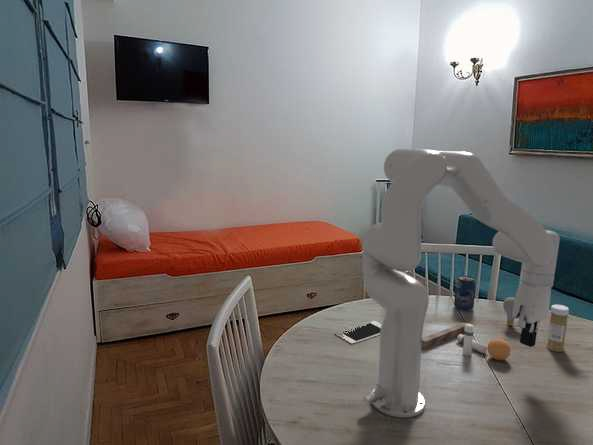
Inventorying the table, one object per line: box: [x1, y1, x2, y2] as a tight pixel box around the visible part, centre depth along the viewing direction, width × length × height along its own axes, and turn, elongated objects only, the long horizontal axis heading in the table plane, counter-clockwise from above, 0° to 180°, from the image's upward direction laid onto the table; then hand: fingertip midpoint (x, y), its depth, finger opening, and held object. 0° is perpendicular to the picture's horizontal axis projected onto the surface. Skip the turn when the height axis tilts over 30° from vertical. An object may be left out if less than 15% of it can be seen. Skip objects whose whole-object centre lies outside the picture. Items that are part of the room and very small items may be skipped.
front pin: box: [456, 334, 488, 355], centre depth 132 cm, size 2×2×9 cm
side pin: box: [462, 323, 475, 357], centre depth 127 cm, size 2×2×9 cm
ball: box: [487, 338, 511, 361], centre depth 125 cm, size 6×6×6 cm
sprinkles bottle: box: [546, 304, 570, 353], centre depth 130 cm, size 5×5×13 cm
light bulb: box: [502, 296, 515, 327], centre depth 147 cm, size 6×6×10 cm
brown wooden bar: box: [421, 322, 468, 350], centre depth 138 cm, size 22×2×2 cm, turn 125°
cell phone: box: [341, 320, 382, 345], centre depth 142 cm, size 9×18×1 cm, turn 124°
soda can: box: [453, 275, 477, 313], centre depth 161 cm, size 7×7×12 cm
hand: (527, 344), depth 115 cm, fingers closed
